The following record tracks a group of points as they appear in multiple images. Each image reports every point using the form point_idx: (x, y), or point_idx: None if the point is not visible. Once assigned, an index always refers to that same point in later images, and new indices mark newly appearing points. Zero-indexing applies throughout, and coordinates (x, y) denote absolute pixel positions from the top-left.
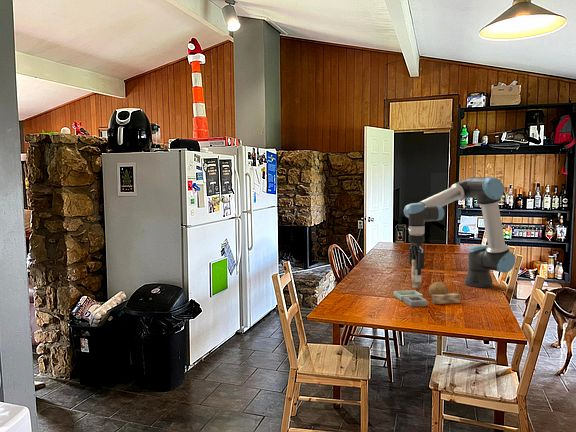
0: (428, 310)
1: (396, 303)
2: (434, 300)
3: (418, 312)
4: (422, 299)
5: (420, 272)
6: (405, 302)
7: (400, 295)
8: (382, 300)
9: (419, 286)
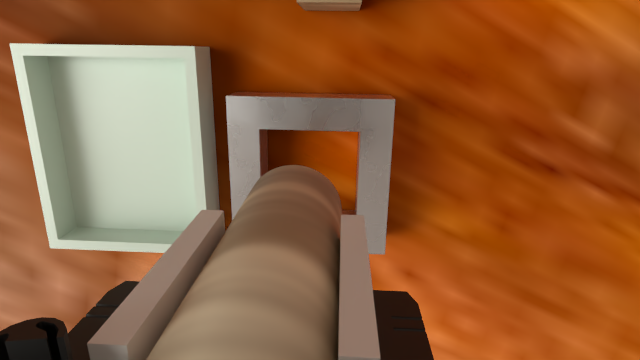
0: (509, 152)
1: None
2: (360, 6)
3: (527, 246)
4: (345, 129)
5: (423, 344)
6: None
7: None
8: None
9: (336, 198)
